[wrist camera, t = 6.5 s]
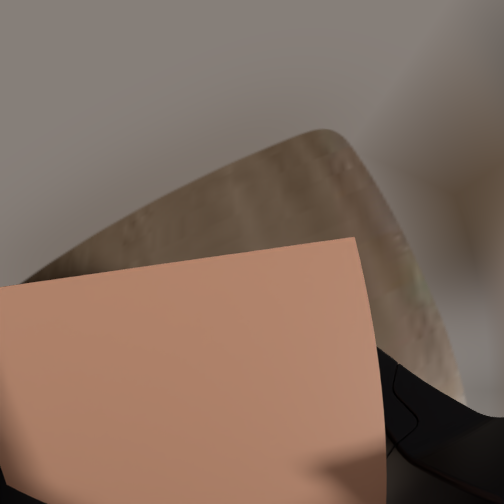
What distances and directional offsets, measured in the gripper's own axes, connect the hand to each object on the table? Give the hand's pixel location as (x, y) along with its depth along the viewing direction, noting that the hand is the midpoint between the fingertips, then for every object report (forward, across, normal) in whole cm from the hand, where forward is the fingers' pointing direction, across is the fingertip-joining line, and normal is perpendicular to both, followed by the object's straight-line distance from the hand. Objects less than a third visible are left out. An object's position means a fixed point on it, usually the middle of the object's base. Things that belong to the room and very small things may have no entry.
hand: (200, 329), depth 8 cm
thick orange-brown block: (+4, 0, +6) cm, 7 cm away
